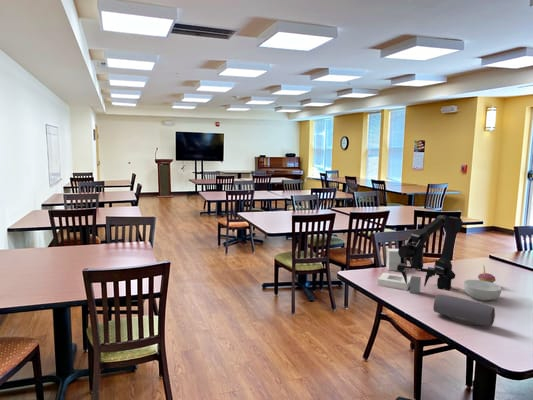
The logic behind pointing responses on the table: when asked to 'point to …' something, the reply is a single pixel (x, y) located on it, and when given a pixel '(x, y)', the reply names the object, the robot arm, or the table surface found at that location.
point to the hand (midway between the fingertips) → (415, 284)
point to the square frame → (394, 281)
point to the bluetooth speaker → (464, 310)
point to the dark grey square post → (415, 285)
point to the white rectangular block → (393, 259)
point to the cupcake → (486, 276)
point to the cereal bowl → (482, 289)
